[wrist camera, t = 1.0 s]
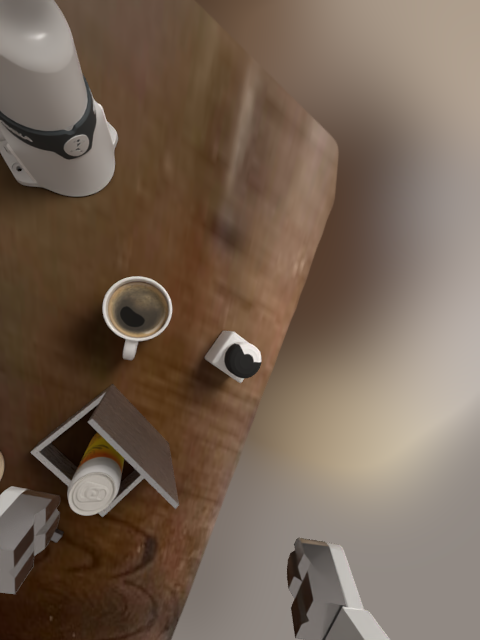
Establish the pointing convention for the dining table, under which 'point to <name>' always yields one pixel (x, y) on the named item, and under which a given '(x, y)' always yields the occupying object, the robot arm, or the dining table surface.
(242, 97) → the dining table surface
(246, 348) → the medicine bottle
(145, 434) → the case
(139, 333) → the mug
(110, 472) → the beer can
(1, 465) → the pad
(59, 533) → the bar
